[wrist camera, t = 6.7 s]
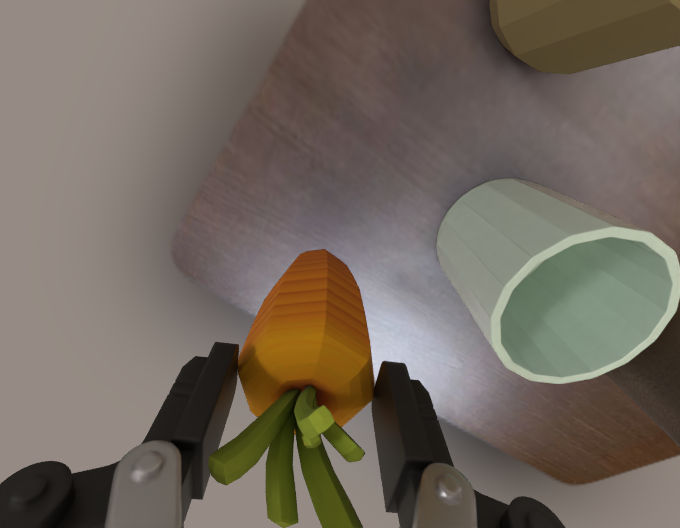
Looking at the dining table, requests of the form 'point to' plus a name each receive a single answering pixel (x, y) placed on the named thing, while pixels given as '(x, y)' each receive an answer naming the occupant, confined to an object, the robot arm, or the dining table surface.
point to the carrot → (303, 388)
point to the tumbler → (556, 280)
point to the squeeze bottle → (584, 31)
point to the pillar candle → (656, 379)
